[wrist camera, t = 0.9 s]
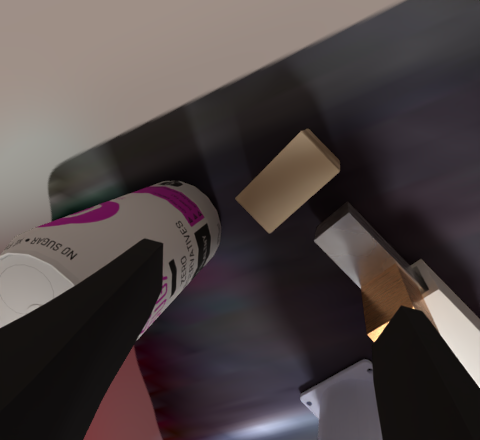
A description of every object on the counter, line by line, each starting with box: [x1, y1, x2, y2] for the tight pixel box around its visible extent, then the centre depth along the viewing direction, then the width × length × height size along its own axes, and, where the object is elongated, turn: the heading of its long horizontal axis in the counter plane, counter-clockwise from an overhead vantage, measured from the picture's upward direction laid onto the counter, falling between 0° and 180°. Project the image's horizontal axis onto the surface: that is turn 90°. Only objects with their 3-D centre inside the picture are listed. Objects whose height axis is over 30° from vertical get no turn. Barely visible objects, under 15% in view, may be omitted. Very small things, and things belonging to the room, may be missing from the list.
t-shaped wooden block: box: [314, 201, 480, 388], centre depth 20 cm, size 15×3×8 cm, turn 47°
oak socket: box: [235, 129, 340, 234], centre depth 22 cm, size 3×6×5 cm, turn 137°
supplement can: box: [0, 181, 221, 341], centre depth 22 cm, size 8×8×15 cm
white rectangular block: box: [411, 259, 480, 387], centre depth 22 cm, size 7×5×5 cm, turn 47°
